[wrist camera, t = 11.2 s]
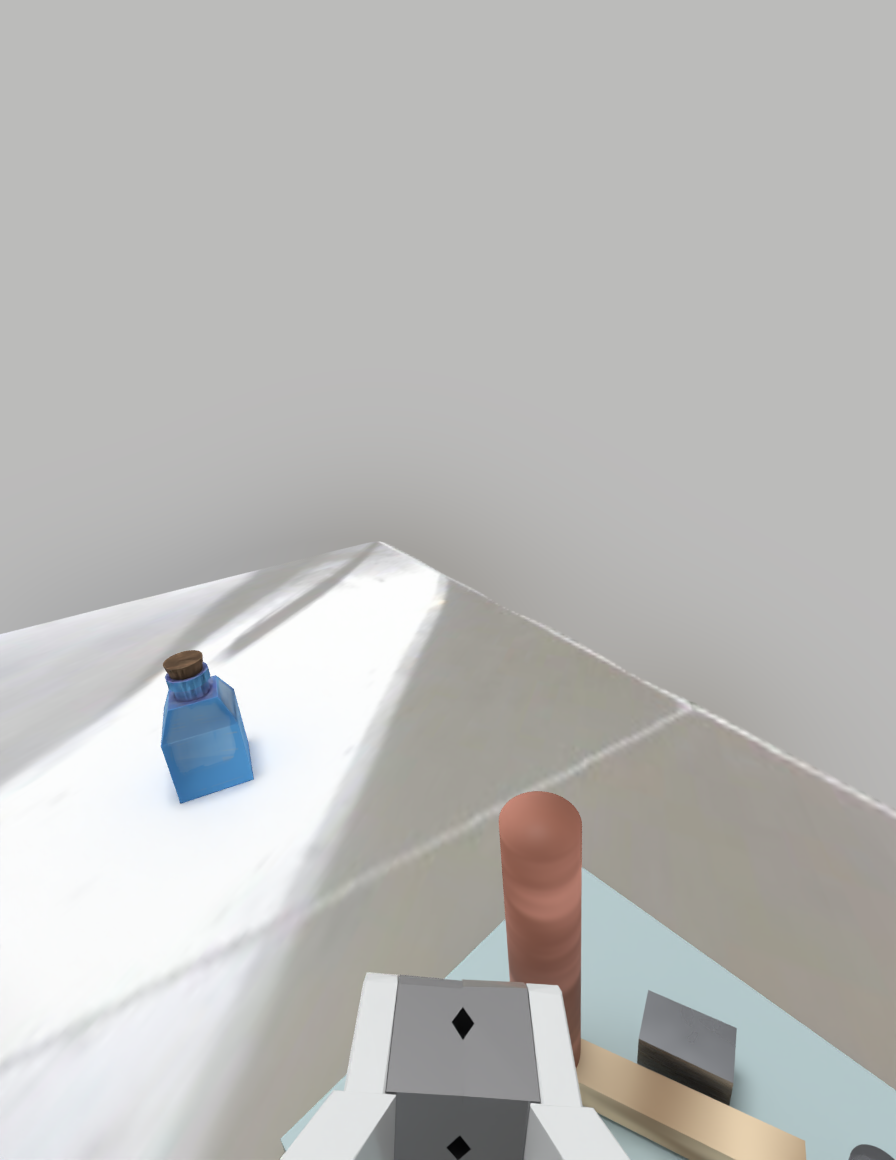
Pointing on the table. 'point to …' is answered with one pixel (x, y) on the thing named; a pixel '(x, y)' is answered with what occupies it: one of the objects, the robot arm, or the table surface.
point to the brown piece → (553, 957)
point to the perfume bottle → (202, 730)
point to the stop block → (687, 1047)
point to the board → (685, 975)
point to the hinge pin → (868, 1153)
